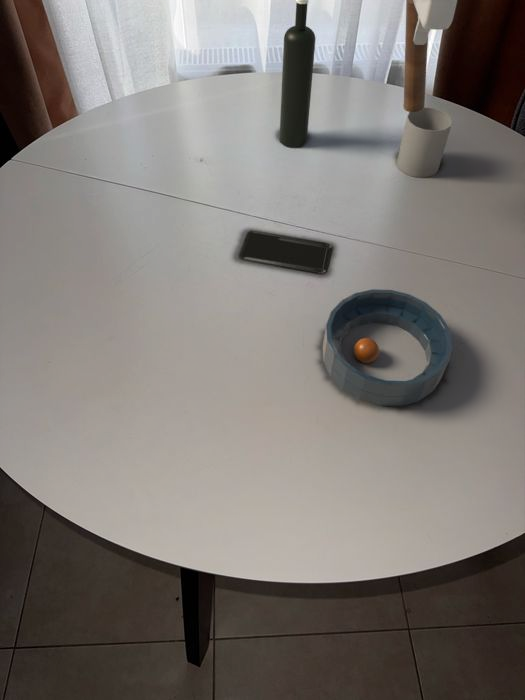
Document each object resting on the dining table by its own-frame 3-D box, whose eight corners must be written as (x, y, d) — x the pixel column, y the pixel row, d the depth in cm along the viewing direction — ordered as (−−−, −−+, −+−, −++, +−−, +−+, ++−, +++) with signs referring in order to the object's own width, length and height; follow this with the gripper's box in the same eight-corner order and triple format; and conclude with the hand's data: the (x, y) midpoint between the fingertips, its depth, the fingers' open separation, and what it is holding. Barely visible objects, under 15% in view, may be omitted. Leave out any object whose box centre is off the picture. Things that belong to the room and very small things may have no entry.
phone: (325, 274, 95) (236, 258, 97) (324, 279, 96) (236, 263, 98) (332, 243, 100) (248, 228, 102) (332, 248, 100) (248, 233, 102)
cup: (421, 182, 113) (433, 136, 105) (388, 164, 117) (398, 117, 109) (446, 166, 117) (461, 119, 109) (414, 148, 120) (426, 102, 113)
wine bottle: (286, 130, 124) (295, -29, 101) (311, 137, 123) (325, -23, 99) (274, 143, 121) (280, -18, 97) (299, 150, 119) (312, -12, 96)
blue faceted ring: (430, 317, 91) (440, 290, 86) (451, 411, 80) (463, 386, 75) (319, 314, 91) (323, 287, 86) (325, 408, 80) (330, 383, 75)
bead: (376, 340, 86) (387, 346, 82) (365, 362, 86) (376, 369, 83) (356, 332, 84) (367, 337, 81) (345, 354, 85) (355, 361, 81)
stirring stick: (423, 100, 93) (429, -9, 81) (425, 111, 91) (431, 1, 79) (403, 102, 94) (405, -5, 82) (404, 113, 92) (407, 4, 80)
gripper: (484, -50, 67) (451, 70, 78) (450, -102, 80) (426, 7, 90) (430, -52, 67) (404, 69, 78) (405, -104, 80) (386, 6, 90)
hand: (416, 35), depth 84 cm, fingers closed on stirring stick, 3 cm apart
